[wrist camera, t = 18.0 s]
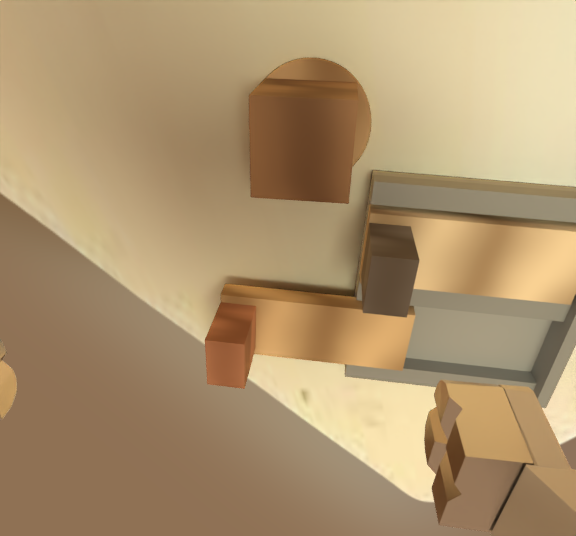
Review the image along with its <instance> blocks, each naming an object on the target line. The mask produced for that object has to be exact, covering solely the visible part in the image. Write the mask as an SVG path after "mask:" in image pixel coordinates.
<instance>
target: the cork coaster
mask: <svg viewBox="0 0 576 536" xmlns="http://www.w3.org/2000/svg"><path fill="white" fill-rule="evenodd" d="M267 78H271V79H294V80H317V81H340V82H357V89H358V111H357V121H356V131H355V142H354V152H353V162H352V166H353V165H354V164H355V163H356V162H357V161H358V160H359V158H360V157H361V155H362V154H363V152H364V150H365V148H366V146H367V143H368V140H369V136H370V131H371V112H370V107H369V102H368V99H367V96H366V94H365V92H364V90H363V88H362V86H361V85H360V83H359V82H358V81H357V79H356V78H355V77H354V76H353V75H352V74H351V73H350V72H349V71H347V70H346V69H345V68H343V67H342V66H340V65H338V64H336V63H334V62H332V61H329V60H325V59H320V58H301V59H296V60H293V61H290V62H288V63H285V64H283V65H281V66H280V67H278V68H277V69H275V70H274V71H273V72H272V73H271V74H269V75H268V76H267ZM249 129H250V126H249Z"/></svg>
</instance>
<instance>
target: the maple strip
mask: <svg viewBox="0 0 576 536" xmlns="http://www.w3.org/2000/svg"><path fill="white" fill-rule="evenodd" d="M359 273H360V283H361V285H362V310H363V313H368V314H378V315H387V316H396V317H406V318H407V315H408V310H409V306H410V301H411V297H412V292H413V289H421V290H431V291H440V292H450V293H460V294H470V295H480V296H490V297H499V298H509V299H519V300H529V301H539V302H548V303H558V304H568V305H571V303H572V301H573V299H574V296H575V294H576V223H574V222H563V221H551V220H540V219H529V218H518V217H507V216H495V215H484V214H473V213H462V212H451V211H440V210H428V209H417V208H406V207H395V206H384V205H372V204H370V205H369V211H368V218H367V225H366V231H365V238H364V245H363V252H362V258H361V265H360V272H359Z"/></svg>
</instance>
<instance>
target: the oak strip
mask: <svg viewBox="0 0 576 536" xmlns="http://www.w3.org/2000/svg"><path fill="white" fill-rule="evenodd" d="M415 316H416V315H415V310H414V306H409V310H408V315H407V318H406V317H396V316H387V315H378V314H368V313H363V310H362V301H360V300H356V297H350V296H340V295H330V294H321V293H311V292H302V291H292V290H282V289H273V288H263V287H254V286H244V285H234V284H225V286H224V288H223V290H222V293H221V303H220V305H219V308H218V310H217V313H216V315H215V317H214V320H213V322H212V325H211V327H210V329H209V332H208V334H207V337H206V339H205V348H206V367H207V384H211V385H219V386H228V387H235V388H245V385H246V381H247V377H248V374H249V370H250V366H251V362H252V359H253V355H254V354H260V355H268V356H277V357H286V358H295V359H303V360H312V361H321V362H329V363H338V364H347V365H356V366H364V367H373V368H382V369H390V370H399V371H403V367H404V362H405V358H406V354H407V350H408V345H409V341H410V337H411V333H412V328H413V324H414V320H415Z"/></svg>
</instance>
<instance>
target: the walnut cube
mask: <svg viewBox="0 0 576 536" xmlns="http://www.w3.org/2000/svg"><path fill="white" fill-rule="evenodd" d="M357 111H358V89H357V82H340V81H317V80H294V79H271V78H265V79H264V80H263V81H262V82H261V83H260V84H259V85H258V86H257V88H256V89H255V90H254V91H253V92H252V93H251V94H250V95H249V126H250V181H251V197H255V198H270V199H285V200H301V201H316V202H331V203H346V204H349V194H350V183H351V173H352V162H353V152H354V142H355V131H356V121H357Z"/></svg>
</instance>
